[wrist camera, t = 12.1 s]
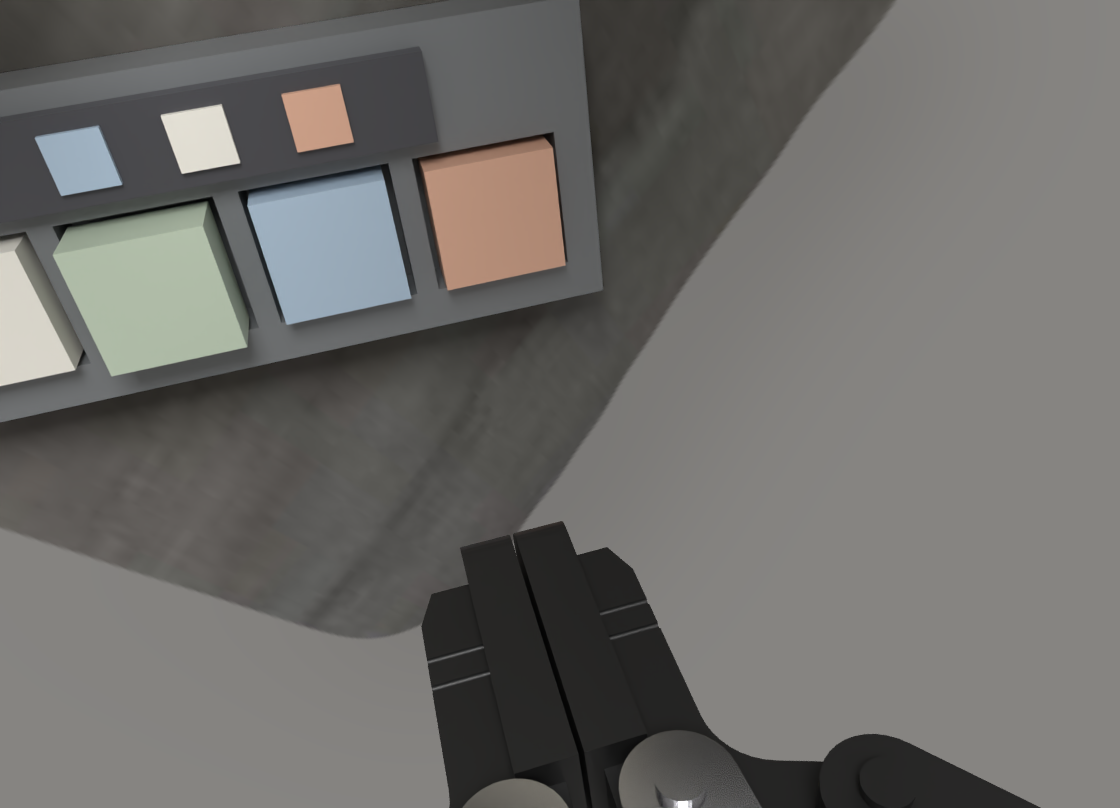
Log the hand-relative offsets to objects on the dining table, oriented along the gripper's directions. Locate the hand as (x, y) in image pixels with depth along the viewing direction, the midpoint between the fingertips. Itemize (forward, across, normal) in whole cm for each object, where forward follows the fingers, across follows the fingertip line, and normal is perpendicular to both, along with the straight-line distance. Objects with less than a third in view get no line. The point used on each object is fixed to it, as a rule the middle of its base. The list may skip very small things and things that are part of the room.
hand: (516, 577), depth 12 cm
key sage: (+25, +9, +5) cm, 27 cm away
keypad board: (+27, +6, +3) cm, 28 cm away
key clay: (+26, -4, +5) cm, 26 cm away
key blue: (+26, +3, +4) cm, 26 cm away
